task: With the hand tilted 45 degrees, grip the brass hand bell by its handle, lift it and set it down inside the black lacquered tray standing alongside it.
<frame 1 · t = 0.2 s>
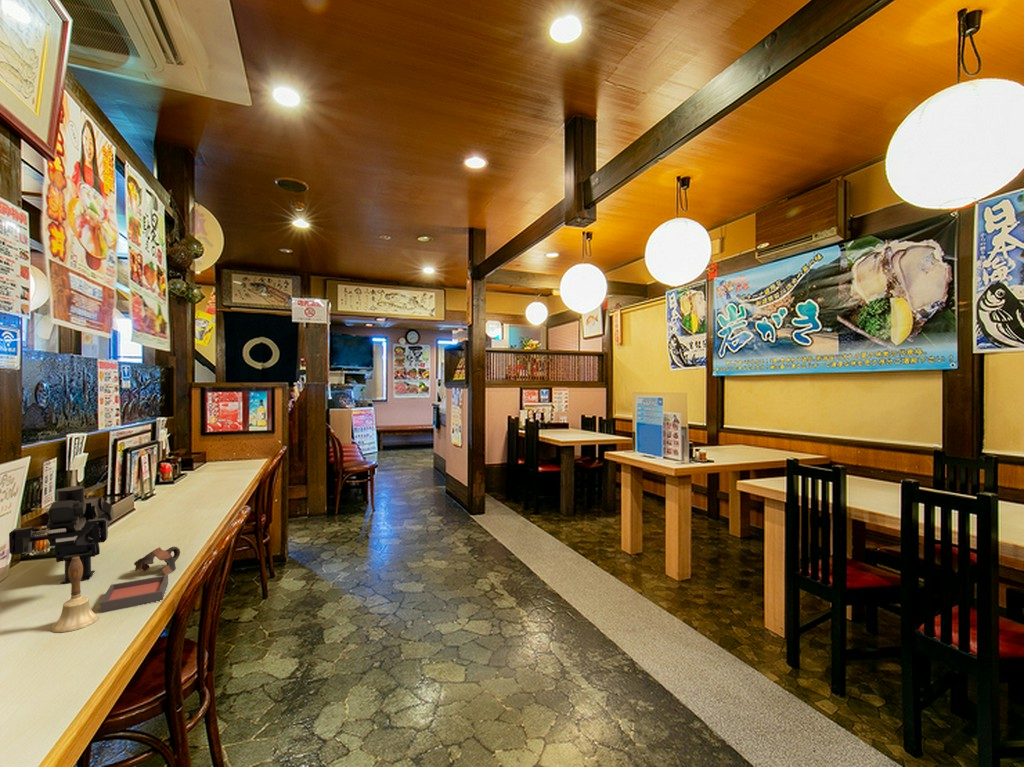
hand: (50, 546, 117), 17 cm above the counter, tool horizontal, fingers open, 9 cm apart
hand bell: (75, 624, 112), on the counter
tray: (136, 597, 125), on the counter
brown curved piece: (159, 572, 143), on the counter
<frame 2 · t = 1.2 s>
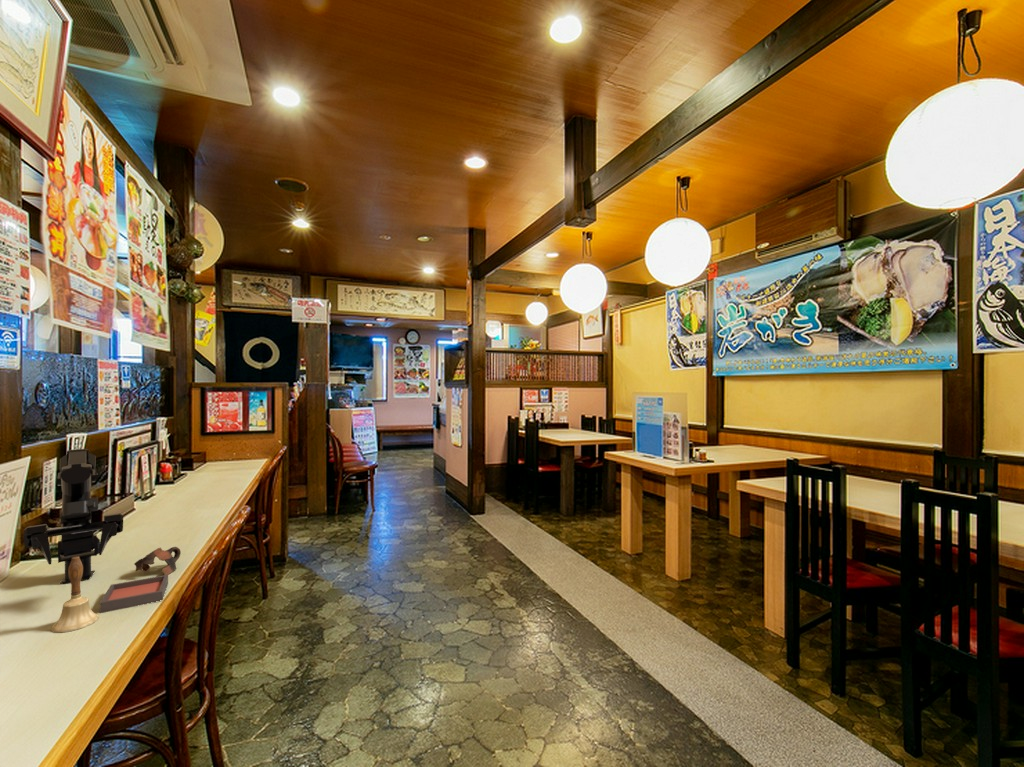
hand: (75, 558, 117), 13 cm above the counter, tool tilted 45°, fingers open, 9 cm apart
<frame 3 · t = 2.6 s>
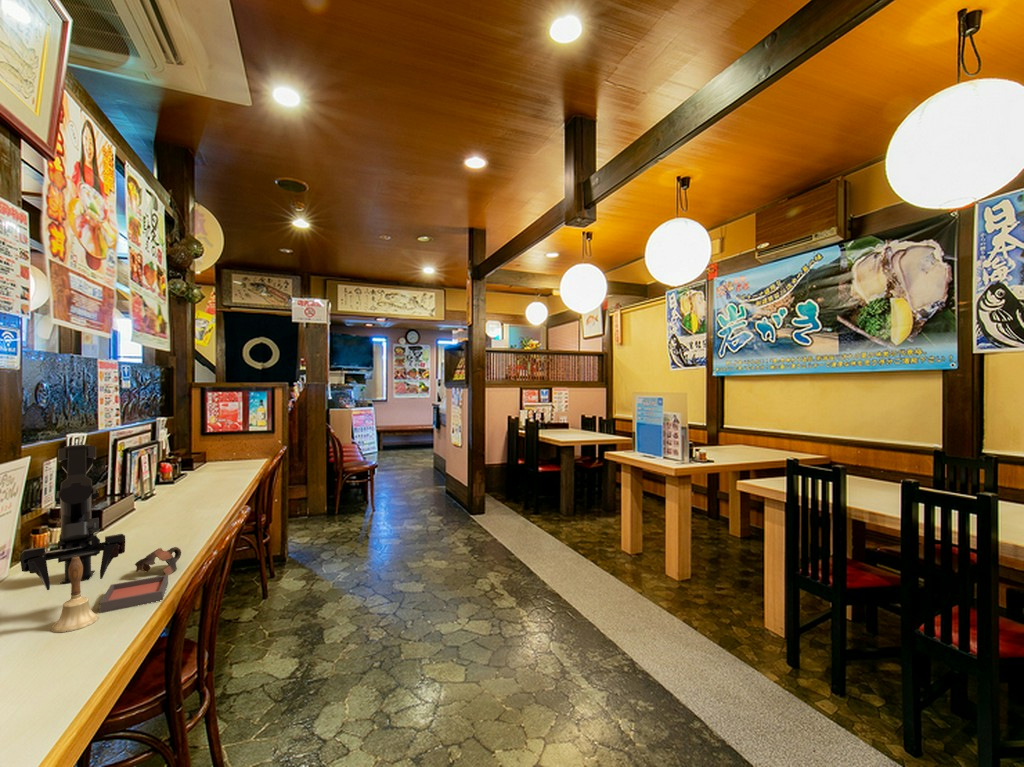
hand: (75, 583, 111), 10 cm above the counter, tool tilted 45°, fingers open, 9 cm apart
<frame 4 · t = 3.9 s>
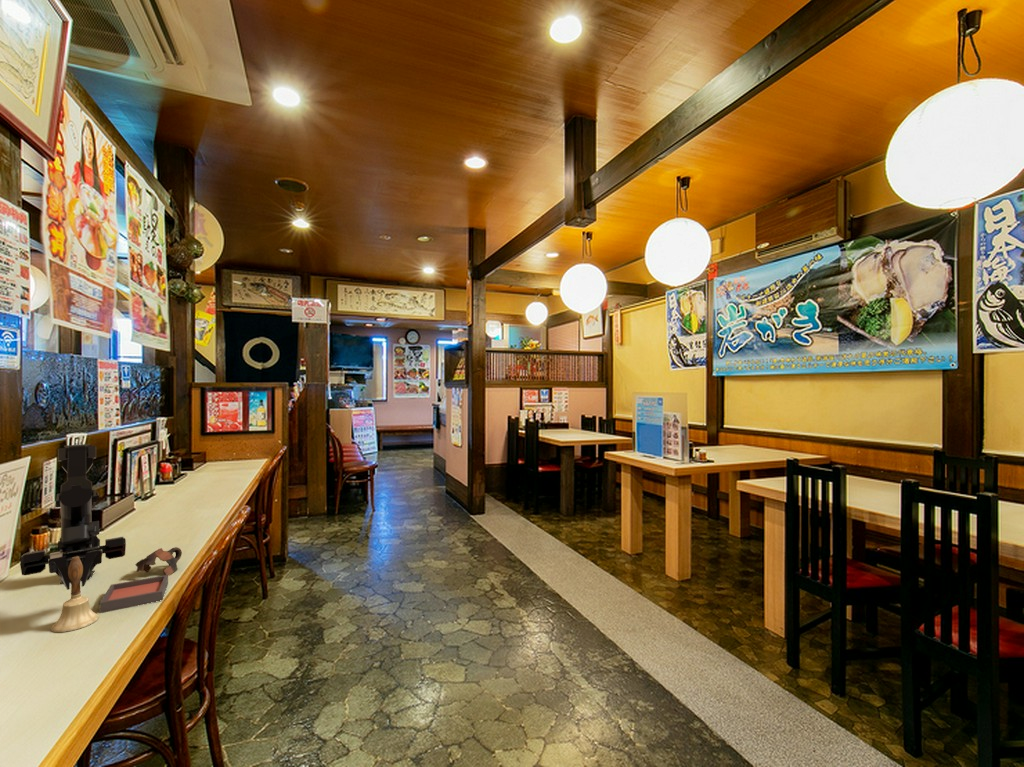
hand: (75, 587, 111), 9 cm above the counter, tool tilted 45°, fingers closed on hand bell, 2 cm apart
hand bell: (75, 624, 112), on the counter, touching gripper
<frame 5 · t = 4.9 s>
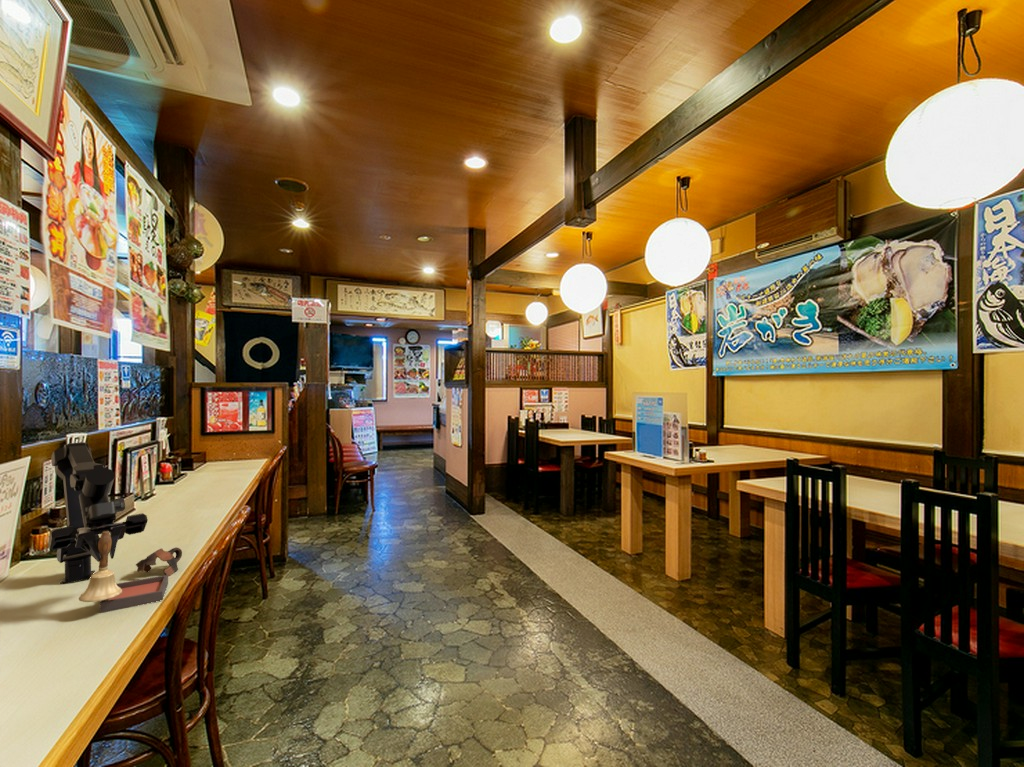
hand: (106, 559, 118), 13 cm above the counter, tool tilted 45°, fingers closed on hand bell, 2 cm apart
hand bell: (100, 596, 118), point 4 cm above the counter, touching gripper
when the fingers open (11 cm above the counter, at t = 6.1 s): hand bell stays where it is, resting on tray.
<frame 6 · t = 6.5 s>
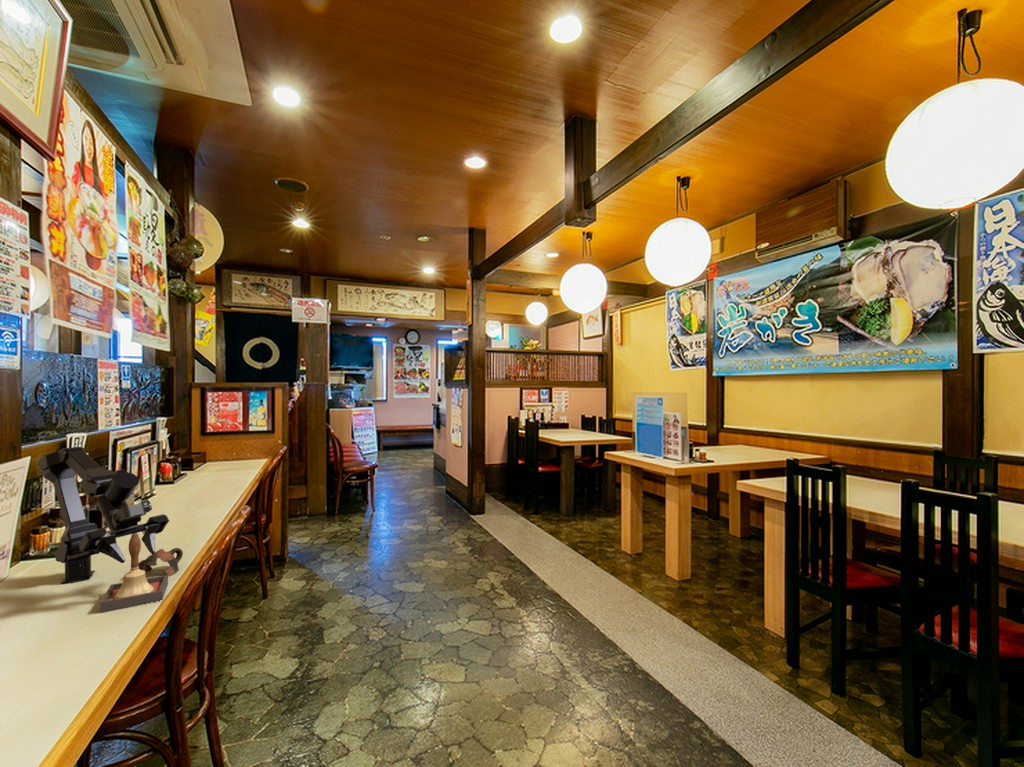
hand: (139, 557, 125), 11 cm above the counter, tool tilted 45°, fingers open, 7 cm apart
hand bell: (134, 594, 125), point 1 cm above the counter, touching tray
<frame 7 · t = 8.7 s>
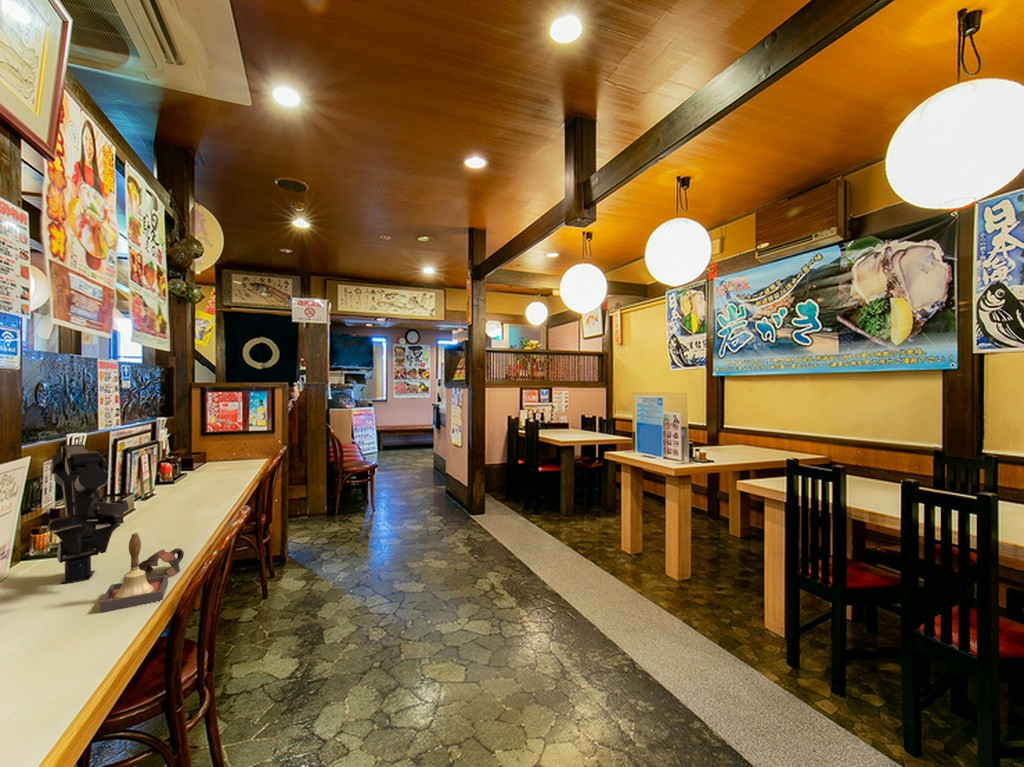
hand: (90, 554, 126), 12 cm above the counter, tool tilted 20°, fingers open, 9 cm apart
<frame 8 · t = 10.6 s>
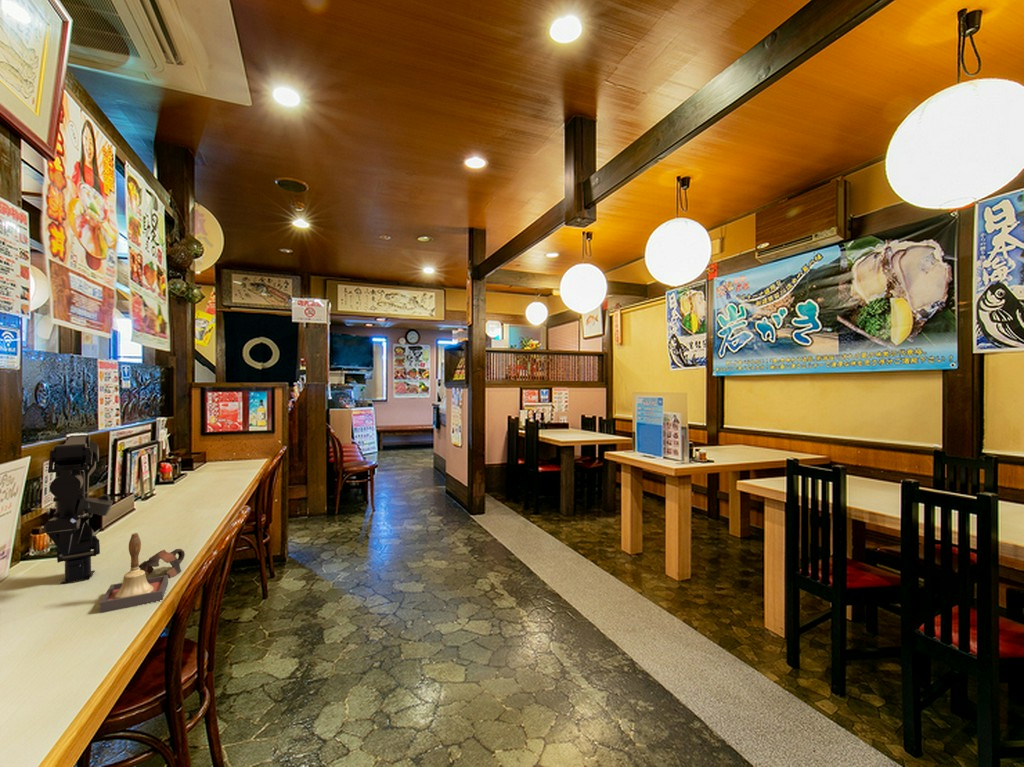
hand: (70, 549, 125), 13 cm above the counter, tool pointing down, fingers open, 9 cm apart
at the end: hand bell inside the target area on the tray (0.4 cm from its centre), point 1.0 cm above the tray's base; hand bell tilted 0°; the gripper is holding nothing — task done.
